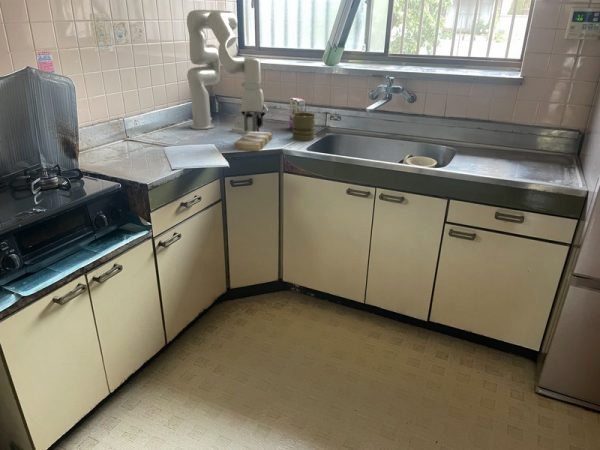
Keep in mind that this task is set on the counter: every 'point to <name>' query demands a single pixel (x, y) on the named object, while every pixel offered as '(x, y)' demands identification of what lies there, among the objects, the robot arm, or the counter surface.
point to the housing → (251, 121)
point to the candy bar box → (296, 108)
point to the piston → (303, 127)
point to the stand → (253, 141)
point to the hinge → (240, 126)
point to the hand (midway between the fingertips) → (253, 125)
